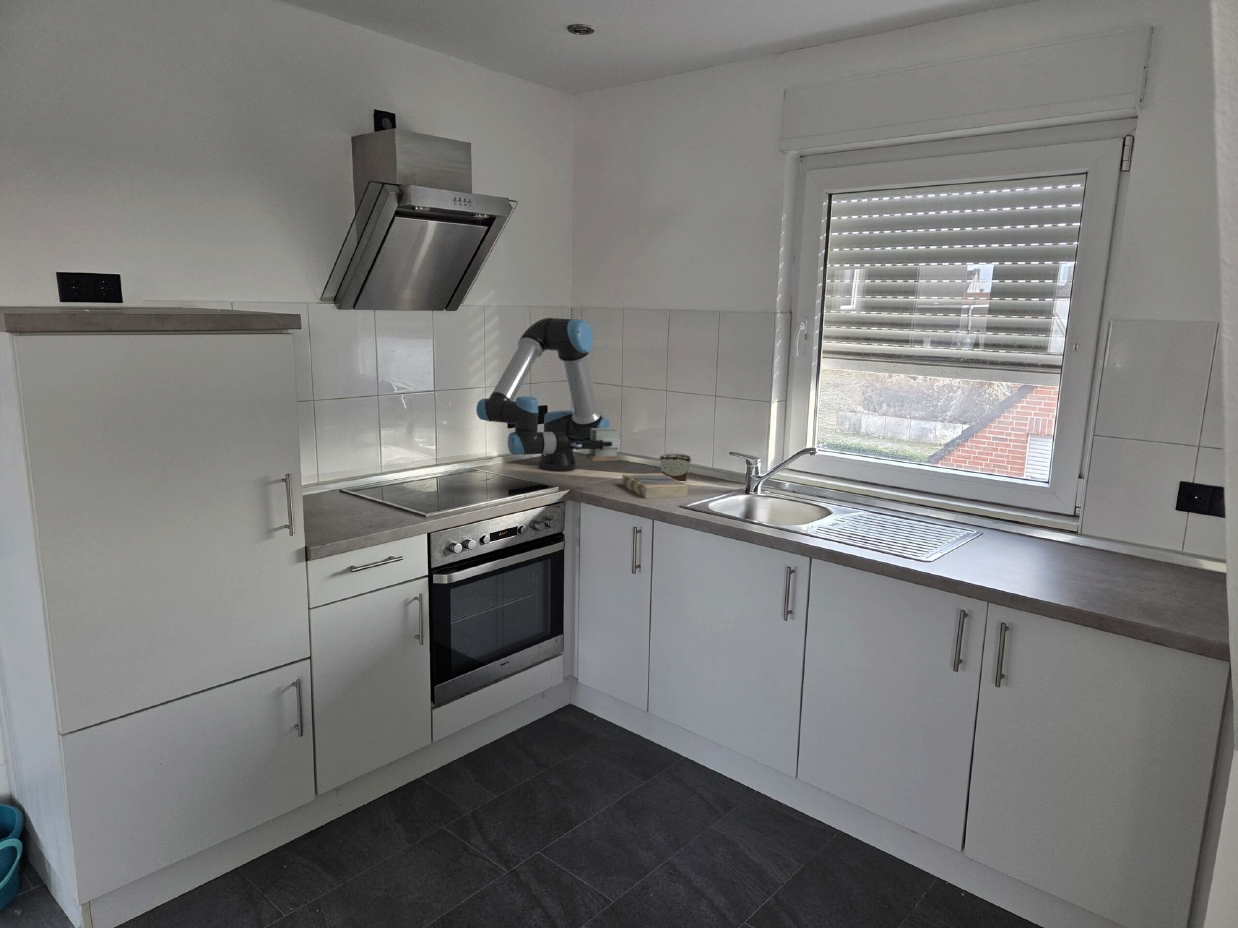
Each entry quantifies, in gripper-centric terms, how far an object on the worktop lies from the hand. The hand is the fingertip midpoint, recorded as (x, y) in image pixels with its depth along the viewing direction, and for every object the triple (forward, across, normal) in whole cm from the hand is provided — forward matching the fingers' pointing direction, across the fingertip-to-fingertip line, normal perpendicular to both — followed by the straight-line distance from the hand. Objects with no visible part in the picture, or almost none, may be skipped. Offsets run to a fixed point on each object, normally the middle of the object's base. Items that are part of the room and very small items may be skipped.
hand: (615, 441), depth 288 cm
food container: (+31, -14, -18) cm, 39 cm away
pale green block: (-5, 0, -6) cm, 8 cm away
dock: (+15, +2, -18) cm, 23 cm away
